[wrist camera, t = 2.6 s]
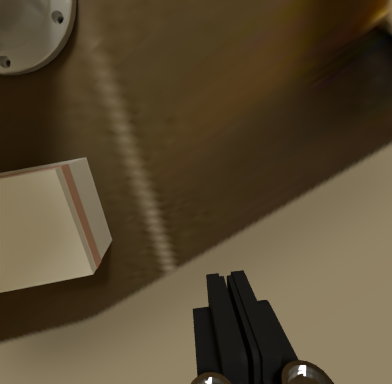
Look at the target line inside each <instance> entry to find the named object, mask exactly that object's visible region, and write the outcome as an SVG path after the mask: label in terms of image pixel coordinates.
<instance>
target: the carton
mask: <svg viewBox="0 0 392 384" xmlns="http://www.w3.org/2000/svg"><path fill="white" fill-rule="evenodd" d="M111 241H112V238H111V235H110V232H109V228H108V225H107V222H106V219H105V216H104V213H103V209H102V206H101V203H100V200H99V197H98V194H97V190H96V187H95V184H94V181H93V178H92V175H91V171H90V168H89V165H88V162H87V159H86V157H85V158H80V159H74V160H69V161H63V162H58V163H52V164H47V165H41V166H36V167H30V168H25V169H19V170H14V171H8V172H3V173H0V293H2V292H7V291H12V290H17V289H22V288H27V287H32V286H38V285H43V284H48V283H53V282H58V281H63V280H68V279H73V278H78V277H83V276H89V275H93V274H94V272H95V270H96V269H98V267H99V265H100V263H101V260H102V258H103V256H104V254H105V252H106V250H107V249H108V247H109V245H110V243H111Z"/></svg>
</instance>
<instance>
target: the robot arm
mask: <svg viewBox="0 0 392 384" xmlns="http://www.w3.org/2000/svg"><path fill="white" fill-rule="evenodd" d="M76 1H77V0H0V75H21V74H26V73H30V72H34V71H36V70H38V69H40V68H42V67H44V66H46V65H47V64H48V63H49V62H51V61H52V60H53V59H54V58H56V57H57V56H58V54H59V53H60V52H61V50H62V49H63V48H64V46H65V45H66V43H67V41H68V39H69V36H70V34H71V32H72V29H73V25H74V21H75V16H76ZM61 19H64V20H63V22H62V23H61V24H60V21H61ZM10 62H11V65H10ZM206 278H207V290H208V303H209V307H203V308H195V309H193V319H194V333H195V347H196V361H197V375H198V376H197V378H195V379H194V380H193V381H192V383H191V384H334V383H333V382H332V380H331V379H330V378H329V377H328V376H327V375H326V373H325V372H324V371H323V370H322V369H320V368H319V367H317V366H316V365H314V364H312V363H310V362H307V361H301V360H298V358H297V356H296V354H295V352H294V350H293V348H292V346H291V344H290V342H289V340H288V339H287V337H286V335H285V333H284V331H283V329H282V327H281V325H280V323H279V321H278V319H277V317H276V315H275V313H274V311H273V309H272V307H271V305H270V303H269V302H268V301H267V300H261V301H257V299H256V297H255V295H254V293H253V291H252V288H251V286H250V284H249V282H248V279H247V277H246V275H245V273H244V271H243V270H242V271H234V272H231V275H229V276H227V286H226V283H225V279H224V276H220V277H219V274H217V273H216V274H208V275H206Z"/></svg>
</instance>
